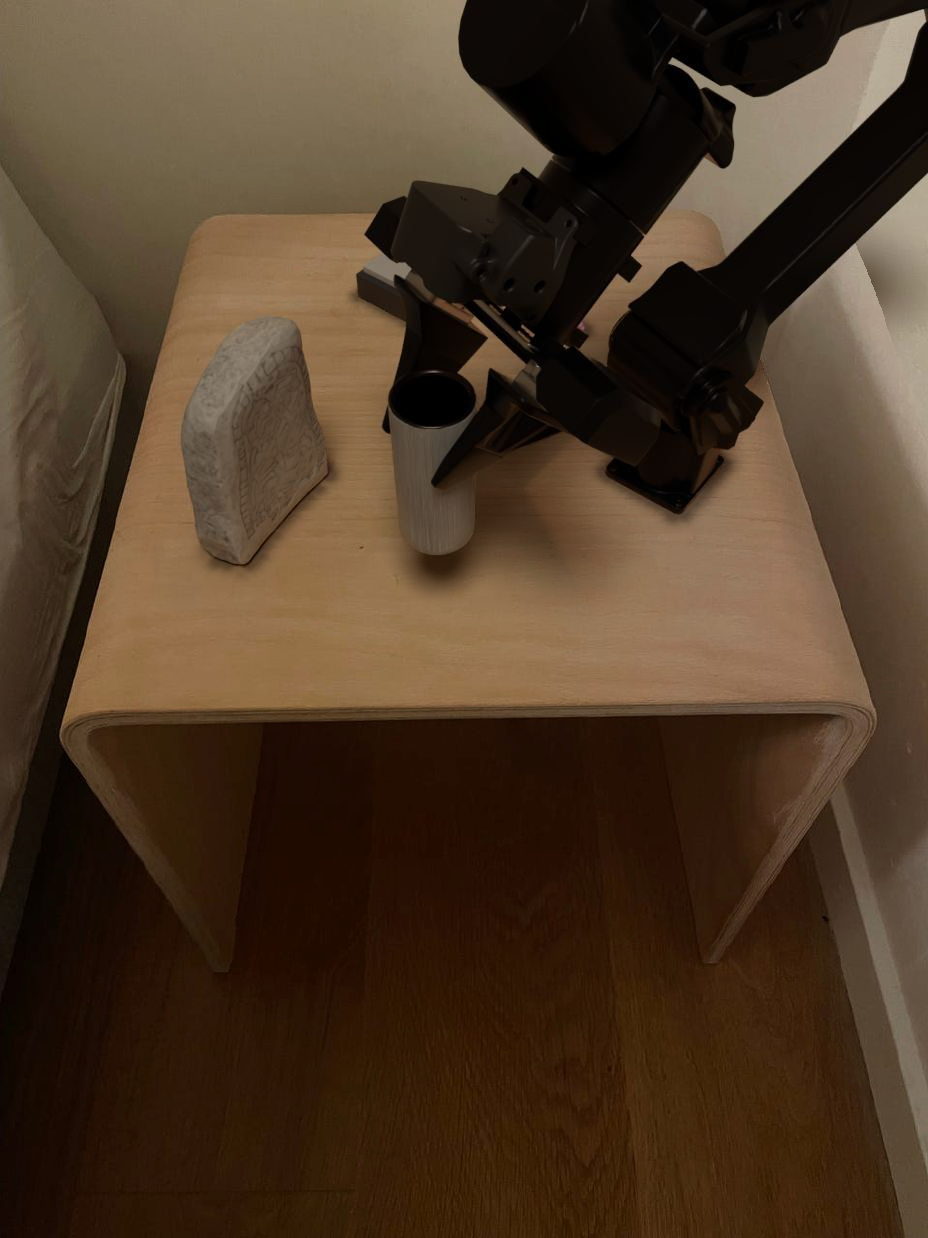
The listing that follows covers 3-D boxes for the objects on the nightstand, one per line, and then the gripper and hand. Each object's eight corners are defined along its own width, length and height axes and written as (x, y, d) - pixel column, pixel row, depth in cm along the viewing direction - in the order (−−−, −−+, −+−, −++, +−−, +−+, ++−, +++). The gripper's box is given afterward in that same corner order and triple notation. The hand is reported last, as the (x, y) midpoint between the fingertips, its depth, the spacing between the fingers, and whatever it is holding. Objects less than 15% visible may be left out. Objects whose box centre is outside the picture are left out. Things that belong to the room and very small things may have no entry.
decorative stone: (256, 581, 60) (204, 414, 48) (183, 548, 62) (115, 378, 49) (342, 474, 66) (315, 299, 53) (273, 447, 67) (232, 270, 55)
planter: (474, 557, 53) (476, 429, 44) (397, 555, 53) (384, 427, 44) (475, 498, 56) (477, 366, 47) (401, 497, 56) (390, 365, 47)
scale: (488, 287, 78) (489, 258, 76) (430, 334, 74) (429, 305, 72) (417, 252, 81) (416, 223, 78) (357, 296, 77) (354, 267, 75)
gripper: (382, 20, 40) (214, 316, 46) (658, 224, 32) (410, 555, 38) (516, 142, 49) (361, 376, 55) (759, 326, 41) (546, 580, 47)
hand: (412, 459), depth 48 cm, fingers closed on planter, 4 cm apart
